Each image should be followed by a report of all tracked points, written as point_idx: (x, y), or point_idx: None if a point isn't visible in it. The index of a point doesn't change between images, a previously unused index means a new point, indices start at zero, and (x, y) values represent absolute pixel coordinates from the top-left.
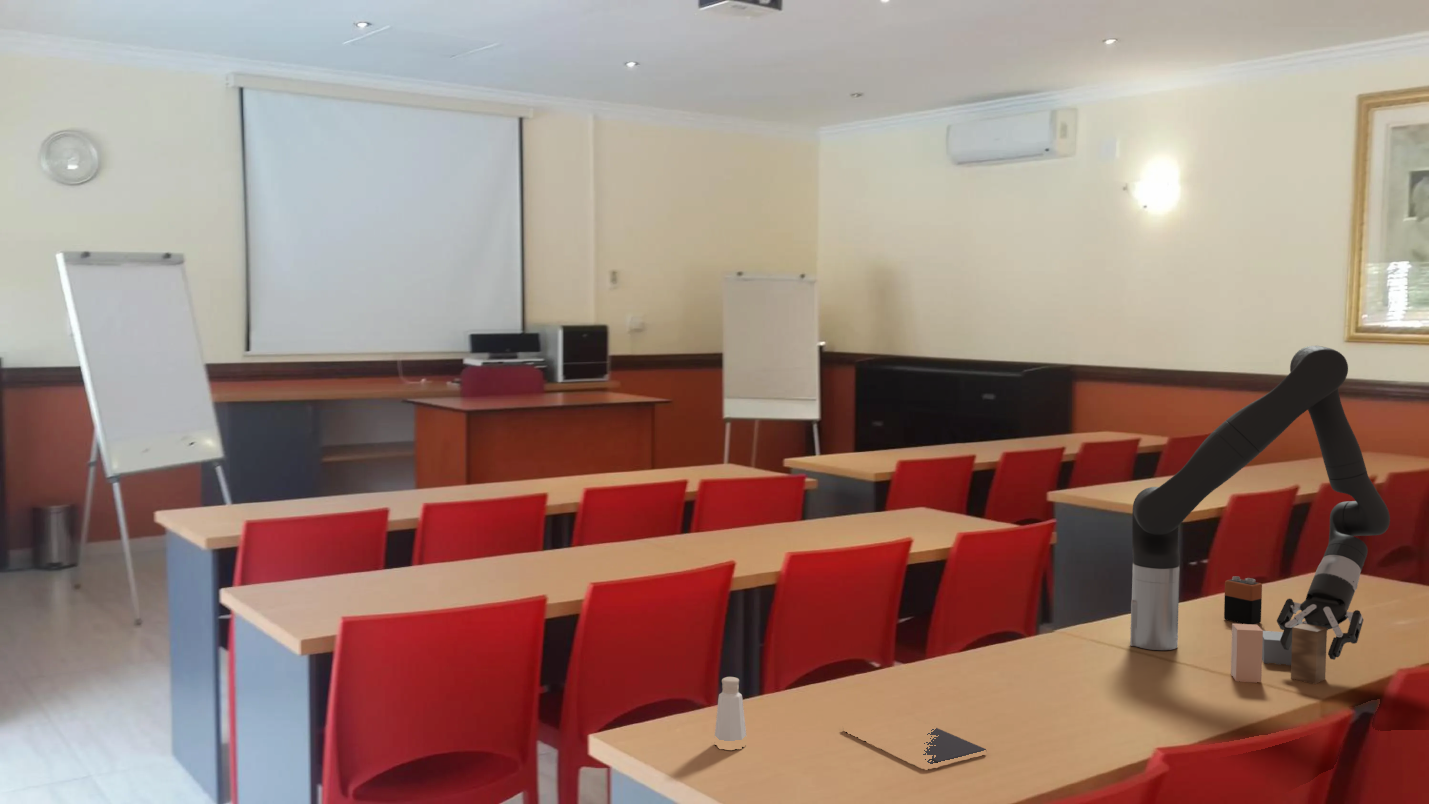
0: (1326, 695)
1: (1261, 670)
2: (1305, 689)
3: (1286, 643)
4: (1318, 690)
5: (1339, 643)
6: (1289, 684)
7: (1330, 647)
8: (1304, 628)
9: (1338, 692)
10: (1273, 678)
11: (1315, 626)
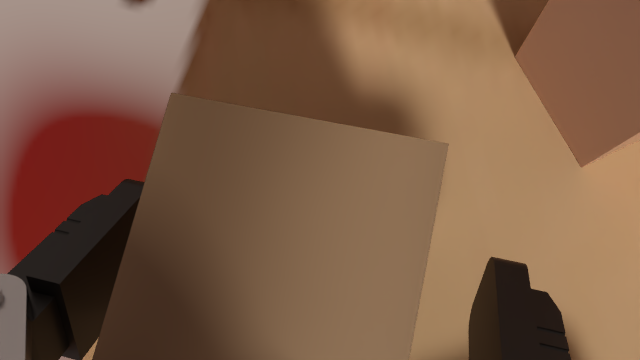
0: (209, 41)
1: (536, 24)
2: (305, 75)
3: (489, 276)
4: (250, 96)
5: (40, 257)
6: (388, 112)
7: (124, 210)
8: (314, 165)
9: None
10: (484, 171)
11: (215, 355)
